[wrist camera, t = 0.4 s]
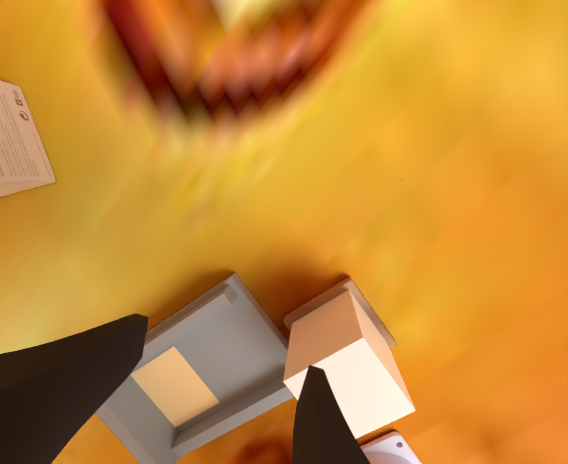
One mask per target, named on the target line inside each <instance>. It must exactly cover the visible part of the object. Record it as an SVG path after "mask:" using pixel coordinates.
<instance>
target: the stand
mask: <svg viewBox="0 0 568 464" xmlns="http://www.w3.org/2000/svg"><path fill="white" fill-rule="evenodd" d="M347 290H350V291H351V293H352V294H353V296H354V297H355V298H356V300H357V301H358V303H359V304H360V306H361V307H362V308H363V310H364V311H365V313H366V314H367V315H368V317H369V318H370V320H371V321H372V322H373V324H374V325H375V327H376V328H377V329H378V331H379V332H380V334H381V335H382V337H383V338H384V339H385V341H386V342H387V344H388V346H389V349H391V348H392V347H394V346H396V345H397V344H396V342H395V340H394V338H393V337H392V335H391V334H390V332H389V331H388V330H387V328H386V327H385V325H384V324H383V323H382V321H381V320H380V318H379V317H378V315H377V314H376V313H375V311H374V310H373V308H372V307H371V306H370V304H369V303H368V301H367V300H366V298H365V297H364V296H363V294H362V293H361V291H360V290H359V288H358V287H357V286H356V284H355V283H354V281H353V280H352V279H351V277H350V276H349V277H348V278H346V279H344V280H343V281H341V282H339V283H338V284H336V285H334V286H333V287H331V288H330V289H328V290H326V291H325V292H323V293H321V294H320V295H318V296H316V297H315V298H313V299H312V300H310V301H308V302H307V303H305V304H303V305H302V306H300V307H298V308H297V309H295V310H293V311H292V312H290V313H289V314H287V315H285V316H284V318H283V323H284V324H285V325H286V327H287V328H288V329H289V331H290V332H291V327H292V323H294V322H295V321H297V320H299V319H300V318H302V317H304V316H305V315H307V314H309V313H311V312H312V311H314V310H316V309H317V308H319V307H321V306H322V305H324V304H326V303H327V302H329V301H331V300H332V299H334V298H336V297H337V296H339V295H341V294H342V293H344V292H346V291H347Z"/></svg>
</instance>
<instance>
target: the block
mask: <svg viewBox="0 0 568 464" xmlns="http://www.w3.org/2000/svg"><path fill="white" fill-rule="evenodd" d="M309 365H311V366H315V367H318V368H322V369H324V371H325V373H326V376H327V379H328V381H329V384H330V387H331V389H332V391H333V394H334V396H335V398H336V401H337V403H338V405H339V407H340V409H341V412H342V414H343V416H344V418H345V420H346V422H347V424H348V426H349V428H350V430H351V431H352V433H353V435H354V437H355V439H357V438H359V437H361V436H363V435H365V434H367V433H369V432H371V431H374V430H376V429H378V428H380V427H382V426H384V425H386V424H389V423H391V422H393V421H395V420H397V419H399V418H401V417H403V416H406V415H408V414H410V413H412V412H414V411H416V410H415V408H414V405H413V403H412V401H411V398H410V396H409V394H408V391H407V389H406V386H405V384H404V382H403V379H402V377H401V375H400V372H399V370H398V368H397V365H396V363H395V360H394V358H393V356H392V353H391V351H390V349H389V346H388V344H387V342H386V341H385V339H384V338H383V337H382V335H381V334H380V332H379V331H378V329H377V328H376V327H375V325H374V324H373V322H372V321H371V320H370V318H369V317H368V315H367V314H366V313H365V311H364V310H363V308H362V307H361V306H360V304H359V303H358V301H357V300H356V298H355V297H354V296H353V294H352V293H351V291H350V290H347V291H346V292H344V293H342V294H341V295H339V296H337V297H336V298H334V299H332V300H331V301H329V302H327V303H326V304H324V305H322V306H321V307H319V308H317V309H316V310H314V311H312V312H311V313H309V314H307V315H305V316H304V317H302V318H300V319H299V320H297V321H295V322H294V323H292V327H291V333H290V340H289V346H288V353H287V359H286V366H285V373H284V379H283V382H284V383H285V385H286V386H287V387H288V388H289V390H290V391H291V392H292V394H293V395H294V396H295V398H296V399H297V400H298V399H299V396H300V393H301V390H302V386H303V383H304V380H305V377H306V373H307V370H308V367H309Z"/></svg>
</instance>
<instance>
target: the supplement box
mask: <svg viewBox="0 0 568 464" xmlns="http://www.w3.org/2000/svg"><path fill="white" fill-rule="evenodd" d="M55 182H56V179H55V176H54V173H53V170H52V167H51V164H50V162H49V160H48V157H47V154H46V151H45V149H44V146H43V144H42V141H41V138H40V135H39V133H38V130H37V128H36V125H35V122H34V120H33V117H32V115H31V112H30V109H29V107H28V104H27V102H26V99H25V97H24V94H23V92H22V90H21V88H20V86H18V85H15V84H12V83H8V82H5V81H1V80H0V197H2V196H5V195H9V194H12V193H16V192H19V191H23V190H27V189H31V188H34V187H38V186H42V185H47V184H51V183H55Z"/></svg>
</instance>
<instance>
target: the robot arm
mask: <svg viewBox="0 0 568 464" xmlns="http://www.w3.org/2000/svg"><path fill="white" fill-rule="evenodd" d="M147 324H148V317H146V316H142V315H139V314H132V315H129V316H126V317H123V318H120V319H118V320H115V321H112V322H109V323H107V324H104V325H101V326H98V327H95V328H93V329H90V330H87V331H84V332H81V333H78V334H75V335H72V336H69V337H66V338H62V339H59V340H56V341H53V342H49V343H46V344H42V345H38V346H34V347H30V348H26V349H22V350H18V351H14V352H8V353H3V354H0V464H51V463H52V462H53V460H54V459H55V458H56V457H57V455H58V454H59V453H60V452H61V450H62V449H63V448H64V447H65V445H66V444H67V443H68V442H69V440H70V439H71V438H72V437H73V436H74V435H75V434H76V432H77V431H78V430H79V429H80V428H81V427H82V426H83V425H84V424H85V423H86V422H87V420H88V419H89V418H90V417H91V416H92V415H93V414H94V413H95V412H96V411H97V410H98V409H99V408H100V407H101V406H102V405H103V404H104V402H105V401H106V400H107V399H108V398H109V397H110V396H111V395H112V394H113V393H114V392H115V391H116V390H117V389H118V388H119V386H120V385H121V384H122V383H123V382H124V381H125V380H126V379H127V378H128V376H129V375H130V374H131V372H132V371H133V370H134V368H135V367H136V366H137V364H138V363H139V361H140V360H141V359H142V356H143V350H144V343H145V337H146V330H147ZM398 442H400V443H398ZM292 464H422V463H421V461H420V460H419V459H418V457H417V456H416V454H415V453H414V452H413V450H412V449H411V448H410V446H409V445H408V444H407V442H406V441H405V440H404V438H403V437H402V435H401V434H400V433H399V432H396V431H393V432H391V433H388V434H386V435H384V436H382V437H380V438H378V439H375V440H373V441H371V442H369V443H367V444H365V445H362V446H359V444H358V442H357V441H356V439H355V437H354V435H353V433H352V431H351V430H350V428H349V426H348V424H347V422H346V420H345V418H344V416H343V414H342V412H341V409H340V407H339V405H338V403H337V401H336V398H335V396H334V394H333V391H332V389H331V387H330V384H329V381H328V379H327V376H326V373H325V371H324V369H322V368H318V367H315V366H311V365H309V367H308V370H307V373H306V377H305V380H304V383H303V386H302V390H301V393H300V396H299V399H298V403H297V407H296V414H295V422H294V430H293V458H292Z"/></svg>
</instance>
